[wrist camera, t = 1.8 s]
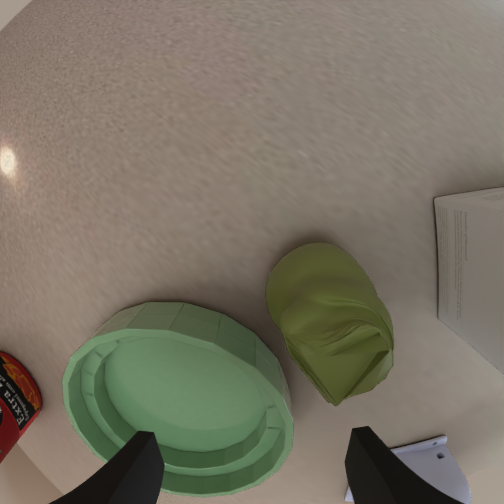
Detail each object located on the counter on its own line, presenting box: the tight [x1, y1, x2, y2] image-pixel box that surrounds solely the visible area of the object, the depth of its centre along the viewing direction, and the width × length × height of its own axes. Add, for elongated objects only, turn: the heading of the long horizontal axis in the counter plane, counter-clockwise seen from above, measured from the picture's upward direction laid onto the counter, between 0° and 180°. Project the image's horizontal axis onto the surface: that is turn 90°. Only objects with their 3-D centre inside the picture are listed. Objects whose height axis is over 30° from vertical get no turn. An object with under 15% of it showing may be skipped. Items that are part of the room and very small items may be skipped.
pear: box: [266, 243, 394, 406], centre depth 14 cm, size 6×5×10 cm
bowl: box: [62, 302, 294, 497], centre depth 19 cm, size 15×15×4 cm
